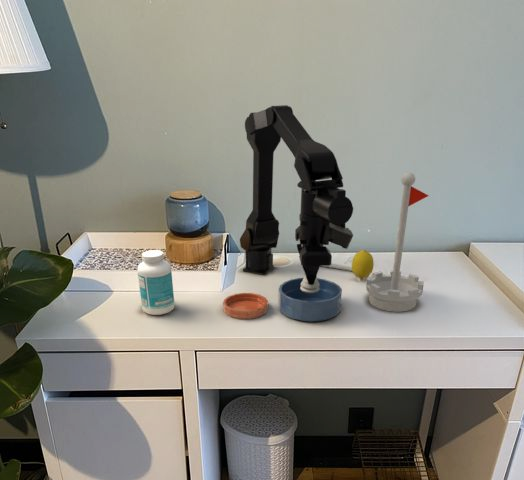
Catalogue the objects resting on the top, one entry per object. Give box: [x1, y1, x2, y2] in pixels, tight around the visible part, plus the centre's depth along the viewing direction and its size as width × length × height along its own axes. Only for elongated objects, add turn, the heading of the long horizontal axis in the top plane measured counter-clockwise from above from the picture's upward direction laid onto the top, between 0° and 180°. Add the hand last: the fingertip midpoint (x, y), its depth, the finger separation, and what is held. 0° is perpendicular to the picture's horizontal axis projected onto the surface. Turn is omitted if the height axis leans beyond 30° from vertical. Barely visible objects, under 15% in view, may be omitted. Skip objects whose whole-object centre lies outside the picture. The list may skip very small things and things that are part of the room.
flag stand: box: [365, 171, 430, 313], centre depth 125 cm, size 13×13×30 cm
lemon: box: [351, 249, 375, 281], centre depth 143 cm, size 6×6×8 cm
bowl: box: [277, 277, 343, 322], centre depth 127 cm, size 14×14×5 cm
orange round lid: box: [222, 292, 269, 320], centre depth 128 cm, size 10×10×2 cm
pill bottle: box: [136, 249, 175, 316], centre depth 125 cm, size 8×7×14 cm
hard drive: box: [323, 252, 355, 272], centre depth 154 cm, size 2×8×12 cm
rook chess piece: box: [300, 274, 320, 294], centre depth 125 cm, size 4×4×8 cm
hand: (310, 281), depth 125 cm, fingers closed on rook chess piece, 3 cm apart
